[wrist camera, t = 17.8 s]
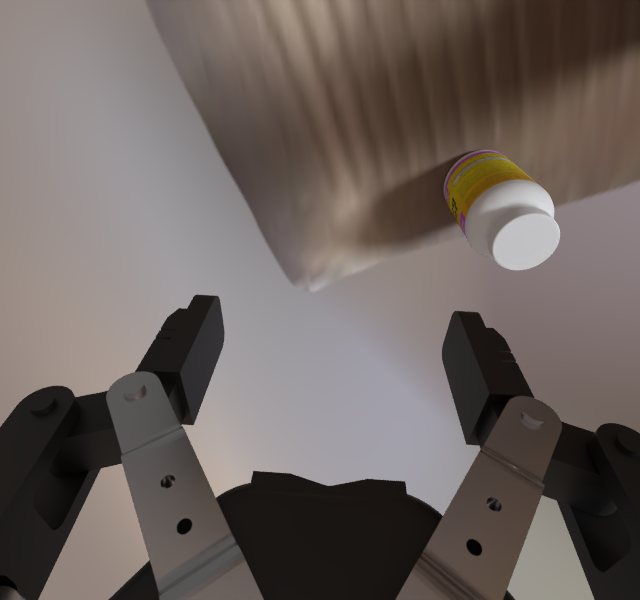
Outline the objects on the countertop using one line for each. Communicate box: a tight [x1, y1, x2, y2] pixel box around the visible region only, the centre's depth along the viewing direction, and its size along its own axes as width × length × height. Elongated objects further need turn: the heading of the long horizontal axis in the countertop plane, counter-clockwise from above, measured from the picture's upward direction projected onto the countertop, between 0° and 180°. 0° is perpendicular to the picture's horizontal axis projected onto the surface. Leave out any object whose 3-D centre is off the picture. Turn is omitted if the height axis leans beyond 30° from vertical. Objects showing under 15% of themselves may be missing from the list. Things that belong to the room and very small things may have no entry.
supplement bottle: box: [444, 150, 560, 270], centre depth 33 cm, size 7×7×13 cm
